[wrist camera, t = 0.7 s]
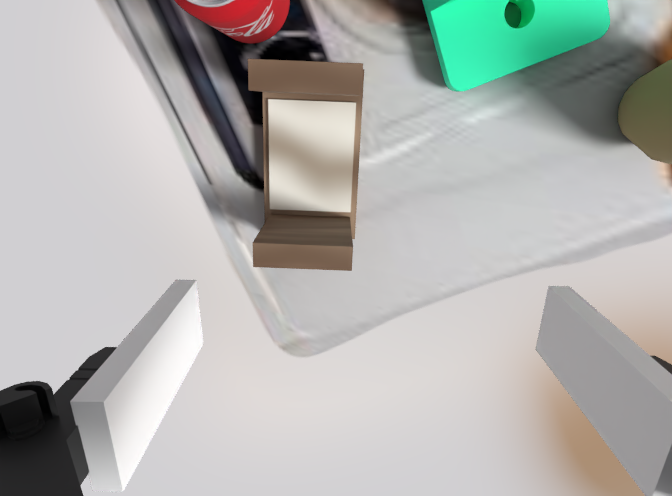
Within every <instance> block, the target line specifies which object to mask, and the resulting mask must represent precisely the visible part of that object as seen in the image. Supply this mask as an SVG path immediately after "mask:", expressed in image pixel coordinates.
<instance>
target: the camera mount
mask: <svg viewBox="0 0 672 496" xmlns="http://www.w3.org/2000/svg"><path fill="white" fill-rule="evenodd" d="M422 1H423V5H424V8H425V12H426V16H427V19H428V23H429V26H430V30H431V34H432V37H433V41H434V44H435V48H436V52H437V55H438V59H439V63H440V66H441V70H442V73H443V77H444V81H445V84H446V86H447V87H448V88H449V89H450V90H452V91H466V90H469V89H471V88H474V87H477V86H479V85H482V84H484V83H487V82H489V81H492V80H495V79H497V78H500V77H502V76H505V75H507V74H510V73H513V72H515V71H518V70H520V69H523V68H525V67H528V66H531V65H533V64H536V63H538V62H541V61H543V60H546V59H549V58H551V57H554V56H556V55H559V54H561V53H564V52H567V51H569V50H572V49H574V48H577V47H579V46H582V45H585V44H587V43H590V42H592V41H595V40H597V39H599V38H601V37H602V36H603V35H604V34H605V33H606V32H607V30H608V28H609V25H610V16H609V9H608V3H607V0H422ZM508 2H512V3H515V4H516V5H517V6H518V7H519V8H520V11H521V21H520V23H519V25H518V27H517V28H512V27H511V26H509V25H508V24H507V22H506V20H505V16H504V12H505V7H506V5H507V3H508Z"/></svg>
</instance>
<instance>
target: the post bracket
mask: <svg viewBox="0 0 672 496" xmlns="http://www.w3.org/2000/svg"><path fill="white" fill-rule="evenodd" d="M363 80H364V69H363V64H361V63H337V62H313V61H289V60H265V59H248V86H249V90H250V91H259V92H263V149H264V208H265V224H264V225H263V227H262V228H261V230H260V232H259V233H258V235H257V237H256V238H255V240H254V242H253V267H270V268H296V269H322V270H348V271H352V253H353V243H352V239H355V223H356V205H357V187H358V170H359V152H360V134H361V116H362V98H363Z"/></svg>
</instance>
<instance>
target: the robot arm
mask: <svg viewBox="0 0 672 496" xmlns="http://www.w3.org/2000/svg"><path fill="white" fill-rule="evenodd" d="M202 345H203V335H202V326H201V317H200V308H199V299H198V289H197V281H196V280H175V282H174V283H173V284H172V285H171V286H170V288H168V290H167V291H166V292H165V293H164V294H163V295H162V296H161V298H160V299H159V300H158V301H157V302H156V304H155V305H154V306H153V307H152V308H151V309H150V310H149V311H148V313H147V314H146V315H145V316H144V317H143V318H142V320H141V321H140V322H139V323H138V324H137V325H136V326H135V328H134V329H133V330H132V331H131V332H130V333H129V335H128V336H127V337H126V338H125V339H124V340H123V341H122V342H121V344H120V345H119V346H118V347H105V348H103V349H102V350H100V351H98V352H97V353H95V354H93V355H92V356H90V357H89V358H88V359H87V360H86V361H85V362H84V363H83V364H82V365H81V366H80V367H79V369H78V371H76V372H75V373H74V374H73V375H72V376H71V377H70V379H69V380H67V381H66V382H65V383H64V384H63V385H62V386H61V387H60V389H58V391H57V392H56V393H55V394H54V395H53V391H52V388H51V387H50V386H49V385H48V384H47V383H44V382H40V381H33V382H25V383H20V384H16V385H13V386H11V387H9V388H6V389H3V390H1V391H0V496H83V493H82V490H81V487H80V485H81V484H82V482H83V481H84V479H85V478H86V476H87V475H89V479H90V483H91V487H92V491H111V492H123V491H124V489H125V487H126V485H127V483H128V482H129V480H130V478H131V476H132V474H133V472H134V471H135V469H136V467H137V465H138V463H139V461H140V459H141V458H142V456H143V454H144V452H145V450H146V448H147V447H148V445H149V443H150V441H151V439H152V437H153V435H154V434H155V432H156V430H157V428H158V426H159V424H160V423H161V421H162V419H163V417H164V415H165V413H166V412H167V410H168V408H169V406H170V404H171V402H172V401H173V399H174V397H175V395H176V393H177V391H178V389H179V388H180V386H181V384H182V382H183V380H184V378H185V377H186V375H187V373H188V371H189V369H190V367H191V366H192V364H193V362H194V360H195V358H196V356H197V354H198V353H199V351H200V349H201V347H202ZM536 351H537V352H538V353H539V355H540V356H541V357H542V359H543V360H544V361H545V363H546V364H547V365H548V367H549V368H550V369H551V370H552V372H553V373H554V375H555V376H556V377H557V379H558V380H559V381H560V383H561V384H562V385H563V387H564V388H565V389H566V390H567V392H568V393H569V395H570V396H571V397H572V399H573V400H574V401H575V403H576V404H577V405H578V407H579V408H580V409H581V411H582V412H583V413H584V415H585V416H586V417H587V419H588V420H589V421H590V423H591V424H592V425H593V427H594V428H595V429H596V430H597V432H598V433H599V435H600V436H601V437H602V439H603V440H604V441H605V442H606V444H607V445H608V447H609V448H610V449H611V450H612V452H613V453H614V454H615V456H616V457H617V459H618V460H619V461H620V462H621V464H622V465H623V466H624V468H625V469H626V471H627V472H628V473H629V475H630V476H631V477H632V479H633V480H634V481H635V482H636V484H637V485H638V486H639V488H640V489H641V490H642V492H643V493H644V494H645V496H672V365H671V364H669V363H667V362H666V361H663V360H662V359H660V358H658V357H656V356H650V355H649V354H647V353H646V352H645V351H644V350H642V348H640V347H639V346H638V345H637V344H635V342H633V341H632V340H631V339H630V338H629V337H627V336H626V335H625V334H624V333H623V332H622V331H620V330H619V329H618V328H617V327H616V326H615V325H613V324H612V323H611V322H610V321H609V320H608V319H607V318H605V317H604V316H603V315H602V314H601V313H600V312H598V311H597V310H596V309H595V308H594V307H592V306H591V305H590V304H589V303H588V302H587V301H586V300H584V299H583V298H582V297H581V296H580V295H579V294H577V293H576V292H575V291H574V290H573V289H572V288H570V287H568V286H549V287H548V291H547V297H546V301H545V306H544V311H543V316H542V321H541V326H540V330H539V335H538V340H537V345H536Z"/></svg>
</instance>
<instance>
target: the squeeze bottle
mask: <svg viewBox="0 0 672 496" xmlns="http://www.w3.org/2000/svg"><path fill="white" fill-rule="evenodd" d="M618 123H619V126H620V129H621V131H622V134H623V135H625V136H626V137H627V138H628V139H629V140H630V141H631V142H632V143H634V144H635V145H636V146H637V147H638V148H639V149H640V150H642V151H643V152H644V153H645V154H646V155H647V156H648V157H650V158H651V159H653V160H657V161H660V162H664V163H668V164H672V59H671V60H669V61H667V62H665V63H664V64H662V65H660V66H659V67H657V68H655V69H654V70H652V71H650V72H649V73H647V74H645V75H644V76H642V77H640V78H639V79H637V80H636V81H635V82H634V83H633V84H632V85H631V86H630V87H629V88H628V89H627V91H626V92H625V93H624V96H623V98H622V100H621V102H620V105H619V107H618Z"/></svg>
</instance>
